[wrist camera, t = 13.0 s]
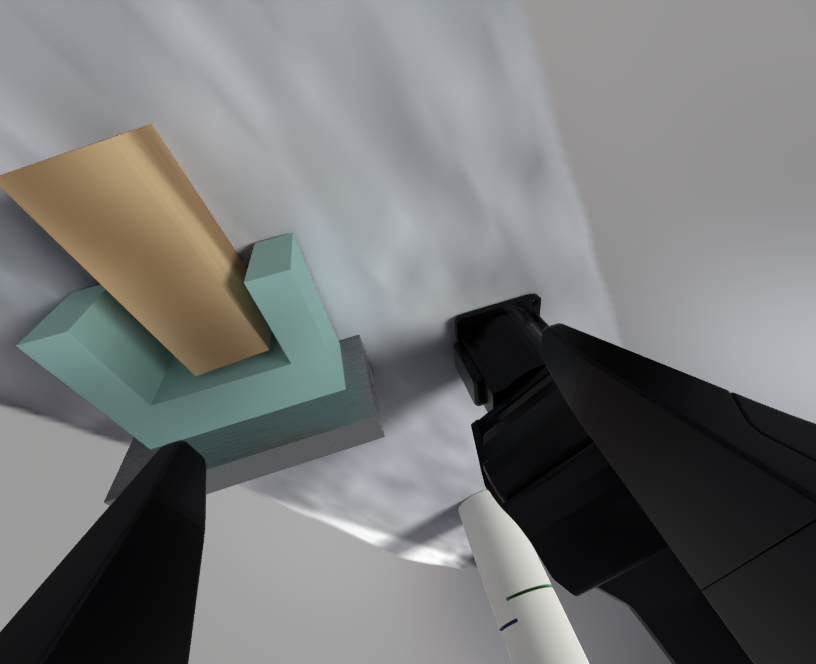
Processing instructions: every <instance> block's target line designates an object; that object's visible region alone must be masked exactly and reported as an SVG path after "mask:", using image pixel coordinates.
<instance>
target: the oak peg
mask: <svg viewBox="0 0 816 664" xmlns="http://www.w3.org/2000/svg"><path fill="white" fill-rule="evenodd" d="M0 187H1V188H2V189H3V190H4V191H5V192H6V193H7V194H8V195H9V196H10V197H11V198H12V199H13V200H14V201H15V202H16V203H17V204H18V205H20V206H21V207H22V208H23V209H24V210H25V211H26V212H27V213H28V214H29V215H30V216H31V217H32V218H33V219H34V220H35V221H36V222H37V223H38V224H39V225H40V226H41V227H42V228H43V229H44V230H45V231H46V232H47V233H48V234H49V235H50V236H51V237H53V238H54V239H55V240H56V241H57V242H58V243H59V244H60V245H61V246H62V247H63V248H64V249H65V250H66V251H67V252H68V253H69V254H70V255H71V256H72V257H73V258H74V259H75V260H76V261H77V262H78V263H79V264H80V265H81V266H82V267H83V268H84V269H86V270H87V271H88V272H89V273H90V274H91V275H92V276H93V277H94V278H95V279H96V280H97V281H98V282H99V283H100V284H101V285H102V286H103V287H104V288H105V289H106V290H107V291H108V292H109V293H110V294H111V295H112V296H113V297H114V298H115V299H116V300H118V301H119V302H120V303H121V304H122V305H123V306H124V307H125V308H126V309H127V310H128V311H129V312H130V313H131V314H132V315H133V316H134V317H135V318H136V319H137V320H138V321H139V322H140V323H141V324H142V325H143V326H144V327H145V328H146V329H147V330H148V331H149V332H151V333H152V334H153V335H154V336H155V337H156V338H157V339H158V340H159V341H160V342H161V343H162V344H163V345H164V346H165V347H166V348H167V349H168V350H169V351H170V352H171V353H172V354H173V355H174V356H175V357H176V358H177V359H178V360H179V361H180V362H181V363H182V364H184V365H185V366H186V367H187V368H188V369H189V370H190V371H191V372H192V373H193V374H194V375H195V376H198V375H201V374H203V373H206V372H209V371H212V370H215V369H217V368H220V367H223V366H226V365H229V364H231V363H234V362H237V361H240V360H243V359H245V358H248V357H251V356H254V355H257V354H259V353H262V352H265V351H268V350H269V348H270V341H271V333H272V330H271V328H270V327H269V325H268V323H267V322H266V320H265V318H264V316H263V315H262V313H261V311H260V310H259V308H258V306H257V304H256V303H255V301H254V299H253V298H252V296H251V294H250V292H249V291H248V289H247V287H246V286H245V284H244V280H245V276H246V273H247V267H246V266H245V264H244V263H243V261H242V260H241V258H240V257H239V255H238V254H237V252H236V251H235V249H234V248H233V246H232V245H231V243H230V242H229V240H228V238H227V237H226V235H225V234H224V232H223V231H222V229H221V228H220V226H219V225H218V223H217V222H216V220H215V219H214V217H213V216H212V214H211V213H210V211H209V210H208V208H207V207H206V205H205V204H204V202H203V200H202V199H201V197H200V196H199V194H198V193H197V191H196V190H195V188H194V187H193V185H192V184H191V182H190V181H189V179H188V178H187V176H186V175H185V173H184V172H183V170H182V169H181V167H180V166H179V164H178V162H177V161H176V159H175V158H174V156H173V155H172V153H171V152H170V150H169V149H168V147H167V146H166V144H165V143H164V141H163V140H162V138H161V137H160V135H159V134H158V132H157V131H156V129H155V127H154V126H153V124H150V125H147V126H144V127H141V128H138V129H135V130H132V131H129V132H126V133H123V134H120V135H117V136H114V137H111V138H108V139H105V140H102V141H99V142H96V143H93V144H90V145H87V146H84V147H81V148H78V149H76V150H73V151H70V152H67V153H64V154H61V155H58V156H55V157H52V158H49V159H46V160H43V161H40V162H37V163H34V164H32V165H29V166H26V167H23V168H20V169H17V170H14V171H11V172H8V173H5V174H3V175H0Z"/></svg>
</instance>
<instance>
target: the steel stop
mask: <svg viewBox="0 0 816 664" xmlns="http://www.w3.org/2000/svg"><path fill="white" fill-rule="evenodd" d="M339 343H340V349H341V356H342V364H343V371H344V379H345V387H346V389H345V390H342V391H338V392H335V393H332V394H329V395H325V396H322V397H319V398H316V399H312V400H309V401H306V402H303V403H299V404H296V405H293V406H290V407H286V408H283V409H280V410H277V411H273V412H270V413H267V414H264V415H261V416H257V417H254V418H251V419H248V420H244V421H241V422H238V423H235V424H231V425H228V426H225V427H222V428H218V429H215V430H212V431H209V432H205V433H202V434H199V435H196V436H192V437H189V438H186V439H183V440H184V441H186V442H188V443H189V444H190V445H191V446H192V447H193V448H194V449H196V450H197V451H198V452H199V453H200V454H201V455H202V456H203V457H204V459H205V461H206V494H208V493H211V492H215V491H218V490H221V489H224V488H227V487H230V486H233V485H236V484H239V483H242V482H246V481H249V480H252V479H255V478H258V477H261V476H264V475H267V474H270V473H273V472H277V471H280V470H283V469H286V468H289V467H292V466H295V465H298V464H301V463H305V462H308V461H311V460H314V459H317V458H320V457H323V456H326V455H329V454H332V453H336V452H339V451H342V450H345V449H348V448H351V447H354V446H357V445H360V444H363V443H367V442H370V441H373V440H376V439H379V438H382V437H385V436H384V432H383V427H382V423H381V418H380V414H379V409H378V405H377V400H376V396H375V391H374V387H373V384H374V383H375V379H374V375H373V372H372V369H371V366H370V363H369V361H368V358H367V355H366V352H365V349H364V347H363V344H362V341H361V338H360V336H359V335H358V336H354V337H351V338H348V339H344V340H341V341H339ZM161 447H162V446H160V447H157V448H154V449H149V448H148V447H146V446H145V445H144V444H143V443H141V442H140V441H139V440H137V439H136V438H135V437H134V438H133V440H132V443H131V445H130V447H129V449H128V451H127V453H126V456H125V458H124V460H123V462H122V464H121V466H120V469H119V471H118V473H117V475H116V477H115V479H114V482H113V484H112V486H111V488H110V490H109V492H108V494H107V497H106V499H105V501H104V503H106V504H108V505H111V504H112V503H113V502H114V501H115V499H116V498H117V497H118V496H119V495H120V494H121V492H122V491H123V490H124V489H125V488H126V487H127V486H128V484H129V483H130V482H131V481H132V480H133V479H134V477H135V476H136V475H137V474H138V473H139V472H140V471H141V469H142V468H143V467H144V466H145V465H146V464H147V463H148V461H149V460H150V459H151V458H152V457H153V456H154V454H155V453H156V452H157V451H158V450H159V449H160V448H161Z"/></svg>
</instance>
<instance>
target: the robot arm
mask: <svg viewBox="0 0 816 664" xmlns="http://www.w3.org/2000/svg"><path fill="white" fill-rule="evenodd" d="M533 300H534V301H533ZM532 301H533V302H532ZM540 306H541V298H540V297H539V296H538V295H537V294H530V295H527V296H524V297H520V298H517V299H514V300H510V301H507V302H504V303H500V304H497V305H494V306H490V307H487V308H484V309H480V310H477V311H474V312H470V313H467V314H464V315H460V316H458V317H457V318H456V320H455V330H456V339H457V342H455V344H454V346H453V348H454V356H455V364H456V369H457V371H458V373H459V375H460V376H461V378H462V380H463V382H464V384H465V386H466V388H467V390H468V392H469V394H470V396H471V398H472V400H473V402H474V404H475V405H477V406H481V405H484V406H485V408H486V410H487V412H488V413H487V414H486V415H484V416H483V417H482V418H481V419H479V420H476V421H475V422H474V423H472V424H471V427H472V432H473V436H474V441H475V445H476V449H477V454H478V458H479V463H480V467H481V472H482V475H483V479H484V484H485V486H486V488H487V490H488V491H489V492H490V493H491V495H492V497H493V498H494V499H495V501H496V502H497V503H498V505H499V506H500V507H501V508H502V509H503V510H504V511H505V512H506V513H507V514H508V515H509V516H510V517H511V518H512V519H513V521H514V522H515V523H516V524H517V525H518V526H519V528H520V529H521V530H522V532H523V533H524V534H525V535H526V537H527V538H528V539H529V541H530V542H531V544H532V546H533V547H534V549H535V550H536V552H537V553H538V555H539V557H540V558H541V560H542V561H543V563H544V565H545V566H546V568H547V570H548V571H549V573H550V575H551V576H552V578H553V579H554V580H555V581H557V582H558V583H559V584H560V585H562V586H563V587H564V588H565V589H567V590H568V591H569V592H570V593H572V594H573V595H575V596H579V595H581V594H583V593H585V592H587V591H589V590H591V589H593V588H596V589H598V590H600V591H602V592H603V593H605V594H607V595H609V596H611V597H612V598H614V599H616V600H618V601H619V602H621V603H623V604H625V605H626V606H627V607H629V608H630V610H631V611H632V612H633V613H634V614H635V616H636V617H637V618H638V619H639V620H640V622H641V623H642V624H643V626H644V627H645V628H646V630H647V631H648V632H649V634H650V635H651V636H652V638H653V639H654V640H655V642H656V643H657V644H658V646H659V647H660V648H661V650H662V651H663V652H664V653H665V655H666V656H667V658H668V659H669V660H670V661H671V663H672V664H816V424H815V423H812V422H809V421H806V420H803V419H801V418H798V417H795V416H792V415H789V414H787V413H784V412H782V411H779V410H777V409H774V408H771V407H769V406H766V405H763V404H761V403H758V402H756V401H753V400H751V399H748V398H746V397H743V396H741V395H738V394H736V393H730V392H729V391H728V390H726V389H723V388H721V387H718V386H716V385H713V384H711V383H708V382H706V381H703V380H701V379H698V378H696V377H693V376H691V375H688V374H686V373H683V372H681V371H678V370H676V369H673V368H671V367H668V366H666V365H664V364H661V363H659V362H656V361H653V360H651V359H648V358H646V357H643V356H641V355H639V354H636V353H634V352H631V351H629V350H626V349H624V348H621V347H619V346H616V345H614V344H611V343H609V342H606V341H604V340H601V339H599V338H596V337H594V336H591V335H589V334H586V333H584V332H581V331H579V330H576V329H574V328H571V327H569V326H567V325H564V324H560V323H558V324H554V325H551V326H549V325H548V324H547V323H546V322H545V321H544V320H543V319H542V318H541V317H540ZM462 321H464V322H463V323H461V322H462ZM460 323H461V324H460ZM205 519H206V461H205V459H204V457H203V456H202V455H201V454H200V453H199V452H198V451H197V450H196V449H194V448H193V447H192V446H191V445H190V444H189V443H188V442H186V441H184V440H178V441H175V442H171V443H168V444H165V445H163V446H162V447H161V448H160V449H159V450H158V451H157V452H156V453H155V454H154V456H153V457H152V458H151V459H150V460H149V461H148V463H147V464H146V465H145V466H144V467H143V468H142V469H141V471H140V472H139V473H138V474H137V475H136V476H135V477H134V479H133V480H132V481H131V482H130V483H129V484H128V486H127V487H126V488H125V489H124V490H123V491H122V492H121V494H120V495H119V496H118V497H117V498H116V499H115V501H114V502H113V503H112V504H111V505H110V506H109V507H108V509H107V510H106V511H105V512H104V514H102V516H101V517H100V518H99V519H98V520H97V521H96V522H95V524H94V525H93V526H92V527H91V528H90V529H89V530H88V532H87V533H86V534H85V535H84V536H83V537H82V539H81V540H80V541H79V542H78V543H77V544H76V545H75V547H74V548H73V549H72V550H71V551H70V552H69V554H68V555H67V556H66V557H65V558H64V559H63V560H62V562H61V563H60V564H59V565H58V566H57V567H56V569H55V570H54V571H53V572H52V573H51V574H50V575H49V577H48V578H47V579H46V580H45V581H44V582H43V583H42V585H41V586H40V587H39V588H38V589H37V590H36V591H35V593H34V594H33V595H32V596H31V597H30V598H29V600H28V601H27V602H26V603H25V604H24V605H23V606H22V608H21V609H20V610H19V611H18V612H17V613H16V614H15V616H14V617H13V618H12V619H11V620H10V622H9V623H8V624H7V625H6V626H5V627H4V628H3V629H2V631H1V632H0V664H188V661H189V653H190V645H191V637H192V630H193V621H194V614H195V605H196V597H197V589H198V582H199V575H200V566H201V559H202V551H203V543H204V534H205Z"/></svg>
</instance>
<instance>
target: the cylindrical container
mask: <svg viewBox="0 0 816 664" xmlns="http://www.w3.org/2000/svg"><path fill="white" fill-rule="evenodd" d="M458 512H459V515H460V518H461V521H462V524H463V527H464V529H465V532H466V535H467V538H468V541H469V544H470V547H471V550H472V552H473V555H474V558H475V561H476V564H477V567H478V570H479V572H480V575H481V578H482V581H483V584H484V587H485V590H486V592H487V595H488V598H489V601H490V604H491V607H492V609H493V612H494V615H495V618H496V621H497V624H498V627H499V629H500V631H502V632H501V635H502V638H503V641H504V644H505V647H506V650H507V652H508V655H509V658H510V661H511V664H589V662H588V660H587V658H586V656H585V654H584V652H583V650H582V647H581V645H580V643H579V641H578V639H577V637H576V635H575V633H574V631H573V629H572V627H571V624H570V623H569V620H568V618H567V616H566V614H565V612H564V610H563V608H562V606H561V604H560V602H559V600H558V597H557V595H556V593H555V592H554V589H553V588H551V587H552V585H551V583H550V581H549V579H548V577H547V575H546V572H545V571H544V568H543V566H542V564H541V562H540V560H539V558H538V556H537V554H536V552H535V550H534V547H533V546H532V544H531V542H530V541H529V539H528V538H527V537H526V535H525V534H524V533H523V532H522V530H521V529H520V528H519V526H518V525H517V524H516V523H515V522H514V521H513V519H512V518H511V517H510V516H509V515H508V514H507V513H506V512H505V511H504V510H503V509H502V508H501V507H500V506H499V505H498V503H497V502H496V501H495V499H494V498H493V497H492V495H491V493H490V492H489V491H488V490H484V491H481V492H479V493H476V494H474V495H472V496H470V497H469V498H467V499H466V500H465V501H464V502H462V503H461V505H460V506H459V508H458Z"/></svg>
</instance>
